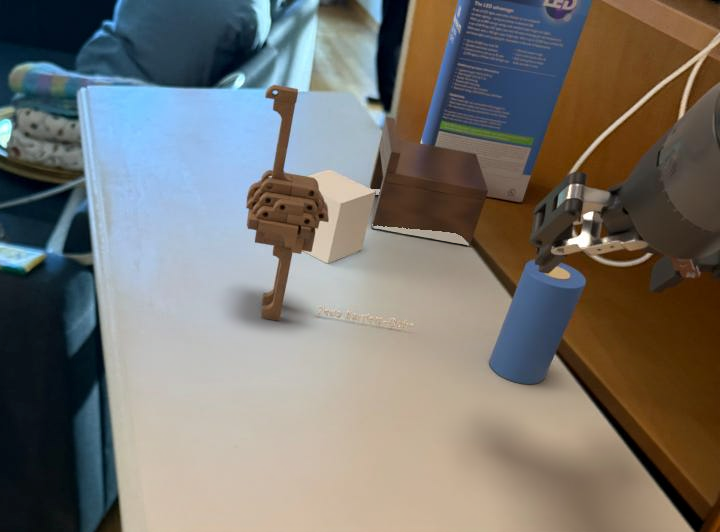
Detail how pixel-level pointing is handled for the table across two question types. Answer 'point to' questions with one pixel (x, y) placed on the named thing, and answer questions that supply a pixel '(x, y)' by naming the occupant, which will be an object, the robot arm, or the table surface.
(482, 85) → the string lights box
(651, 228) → the robot arm
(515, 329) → the blue cylinder
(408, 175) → the dark brown wooden box
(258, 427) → the table surface
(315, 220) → the brown mechanical linkage
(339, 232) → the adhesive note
